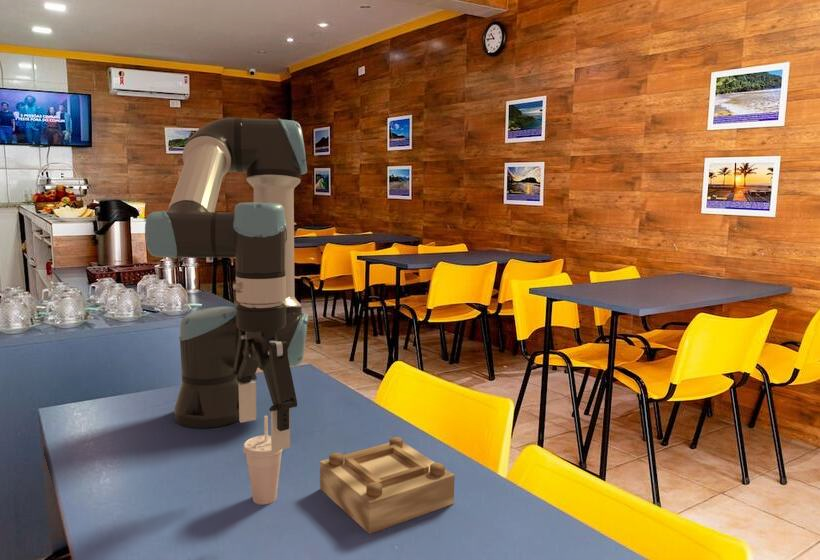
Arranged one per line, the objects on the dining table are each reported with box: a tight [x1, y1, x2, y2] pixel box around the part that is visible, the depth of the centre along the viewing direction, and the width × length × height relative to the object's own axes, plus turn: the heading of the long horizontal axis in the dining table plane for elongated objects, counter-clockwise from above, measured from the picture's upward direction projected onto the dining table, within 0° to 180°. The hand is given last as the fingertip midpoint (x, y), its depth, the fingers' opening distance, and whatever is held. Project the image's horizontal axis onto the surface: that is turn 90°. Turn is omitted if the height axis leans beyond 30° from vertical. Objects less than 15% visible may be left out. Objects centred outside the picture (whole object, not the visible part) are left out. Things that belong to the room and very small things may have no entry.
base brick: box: [319, 436, 456, 535], centre depth 103 cm, size 16×16×6 cm
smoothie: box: [243, 415, 284, 506], centre depth 100 cm, size 6×6×14 cm
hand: (263, 434), depth 99 cm, fingers open, 13 cm apart
